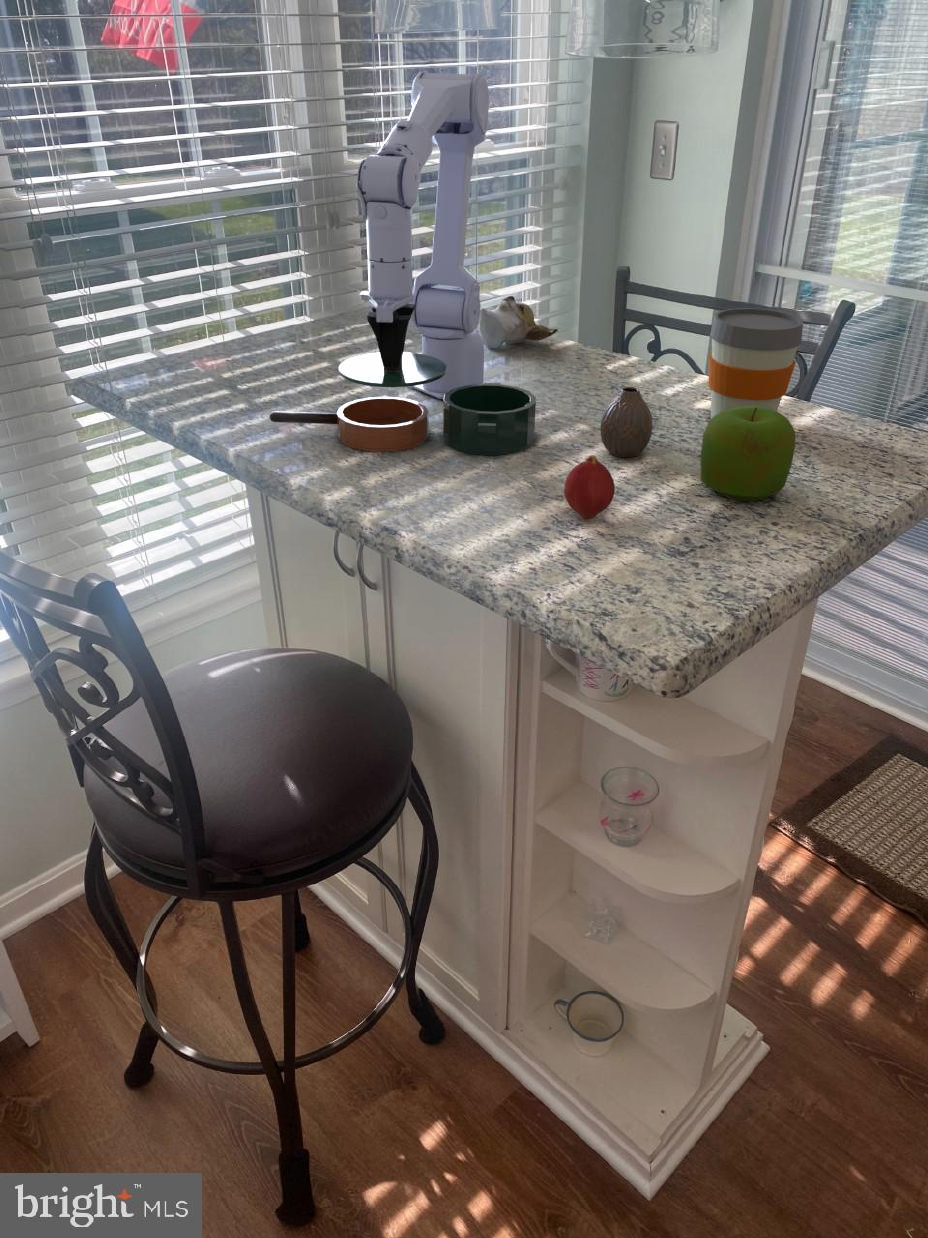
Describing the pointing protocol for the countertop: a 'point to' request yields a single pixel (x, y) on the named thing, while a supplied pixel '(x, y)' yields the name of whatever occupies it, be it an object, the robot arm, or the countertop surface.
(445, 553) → the countertop surface
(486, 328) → the ceramic sculpture
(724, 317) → the reusable coffee cup
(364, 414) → the pan
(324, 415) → the pan handle
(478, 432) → the pot
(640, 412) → the vase
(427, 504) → the countertop surface
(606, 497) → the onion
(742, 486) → the apple
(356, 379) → the lid
